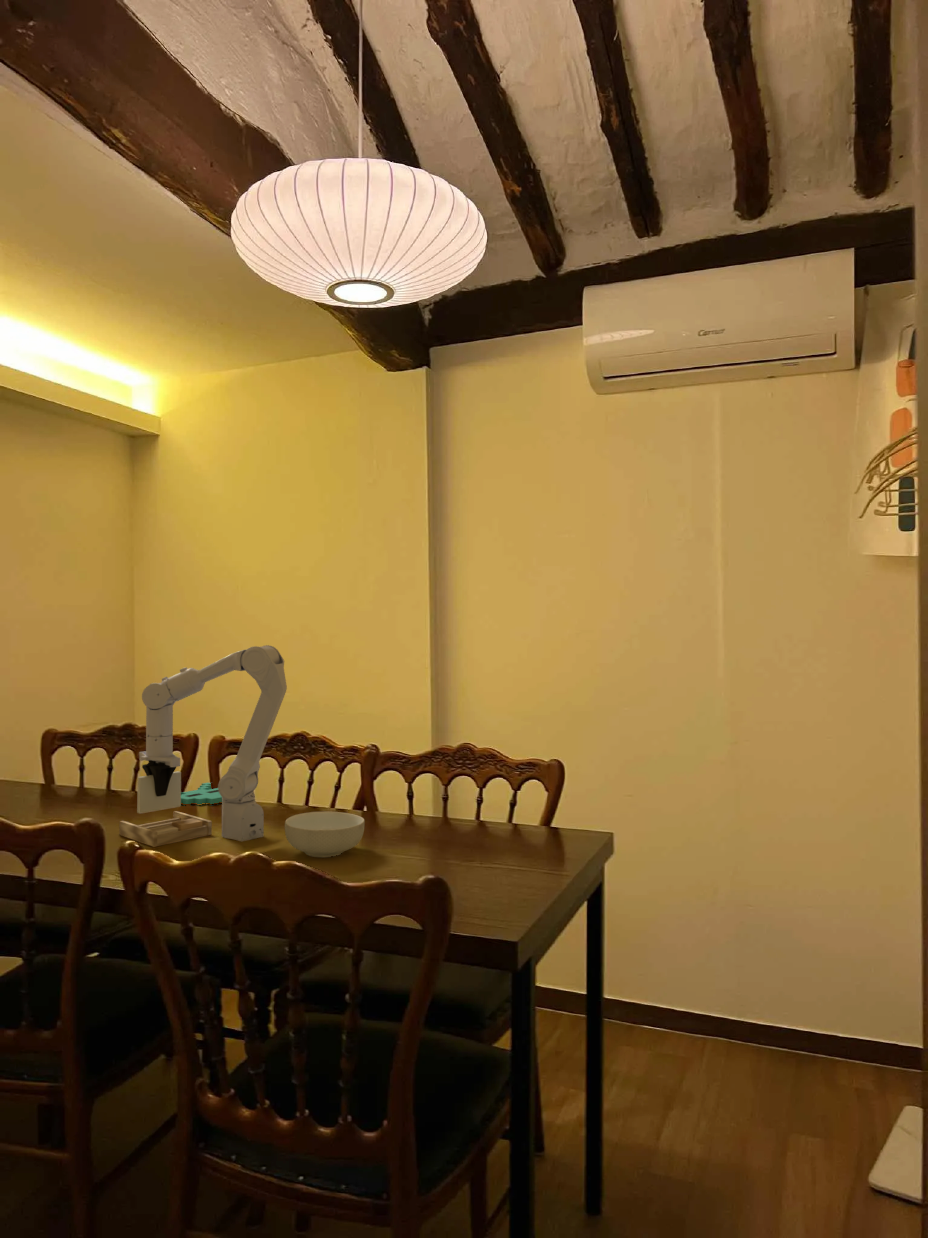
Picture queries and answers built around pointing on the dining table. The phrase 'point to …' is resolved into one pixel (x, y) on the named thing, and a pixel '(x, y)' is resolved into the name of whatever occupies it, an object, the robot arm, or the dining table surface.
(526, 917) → the dining table surface
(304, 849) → the cereal bowl
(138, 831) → the rack
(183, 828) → the oak offcut
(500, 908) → the dining table surface
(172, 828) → the ash offcut
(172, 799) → the sheet
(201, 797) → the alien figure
